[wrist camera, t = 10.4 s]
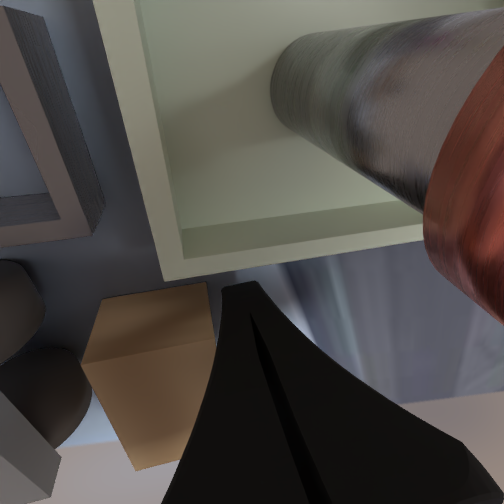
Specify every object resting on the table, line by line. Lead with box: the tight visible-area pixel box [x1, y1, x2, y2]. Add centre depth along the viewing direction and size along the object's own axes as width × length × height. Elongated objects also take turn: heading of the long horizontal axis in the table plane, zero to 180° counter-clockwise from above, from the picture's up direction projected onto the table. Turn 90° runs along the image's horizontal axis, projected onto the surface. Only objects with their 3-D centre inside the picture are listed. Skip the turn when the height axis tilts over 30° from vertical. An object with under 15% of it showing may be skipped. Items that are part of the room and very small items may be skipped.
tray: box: [93, 0, 504, 282], centre depth 7 cm, size 10×8×2 cm
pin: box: [270, 7, 504, 326], centre depth 5 cm, size 3×3×7 cm
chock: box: [81, 282, 216, 471], centre depth 11 cm, size 4×6×3 cm, turn 2°
